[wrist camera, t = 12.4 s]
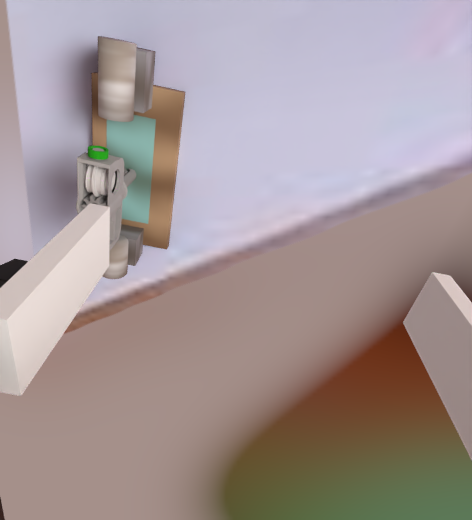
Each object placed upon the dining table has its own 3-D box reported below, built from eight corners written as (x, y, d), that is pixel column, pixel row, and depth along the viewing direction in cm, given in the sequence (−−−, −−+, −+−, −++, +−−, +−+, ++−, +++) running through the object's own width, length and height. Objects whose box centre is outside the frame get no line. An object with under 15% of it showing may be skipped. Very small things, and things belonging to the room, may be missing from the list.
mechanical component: (114, 212, 42) (76, 255, 34) (117, 123, 37) (74, 147, 29) (139, 218, 43) (108, 262, 34) (146, 129, 37) (111, 156, 29)
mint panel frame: (95, 31, 34) (59, 28, 28) (189, 52, 34) (174, 54, 28) (97, 241, 46) (72, 271, 40) (167, 255, 46) (153, 287, 40)
